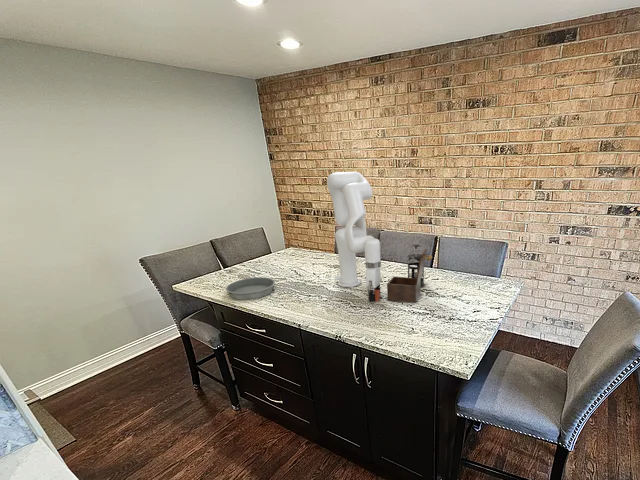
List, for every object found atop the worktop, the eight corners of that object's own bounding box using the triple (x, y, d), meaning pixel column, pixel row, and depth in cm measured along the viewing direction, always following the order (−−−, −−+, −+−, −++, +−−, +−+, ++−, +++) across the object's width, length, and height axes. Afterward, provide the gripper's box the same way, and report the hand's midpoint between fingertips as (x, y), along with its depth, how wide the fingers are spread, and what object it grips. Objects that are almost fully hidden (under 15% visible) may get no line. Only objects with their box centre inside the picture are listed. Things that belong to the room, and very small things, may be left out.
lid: (420, 254, 156) (430, 257, 156) (425, 248, 167) (434, 250, 166) (414, 285, 163) (424, 287, 162) (419, 277, 173) (428, 279, 172)
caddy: (387, 300, 170) (387, 283, 167) (393, 292, 180) (393, 276, 177) (415, 302, 166) (415, 286, 163) (420, 294, 177) (420, 278, 173)
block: (369, 300, 170) (368, 292, 168) (372, 297, 174) (371, 289, 172) (377, 301, 169) (377, 293, 167) (380, 297, 173) (380, 289, 171)
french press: (420, 289, 183) (420, 248, 174) (404, 287, 186) (404, 246, 178) (427, 282, 193) (428, 243, 184) (412, 280, 196) (411, 241, 188)
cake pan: (239, 305, 167) (238, 296, 166) (220, 293, 183) (218, 285, 181) (284, 291, 184) (283, 283, 182) (263, 281, 199) (261, 274, 198)
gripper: (371, 259, 173) (373, 291, 180) (359, 269, 158) (361, 303, 164) (385, 260, 171) (386, 292, 178) (374, 270, 156) (376, 305, 163)
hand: (374, 297), depth 171 cm, fingers open, 7 cm apart
